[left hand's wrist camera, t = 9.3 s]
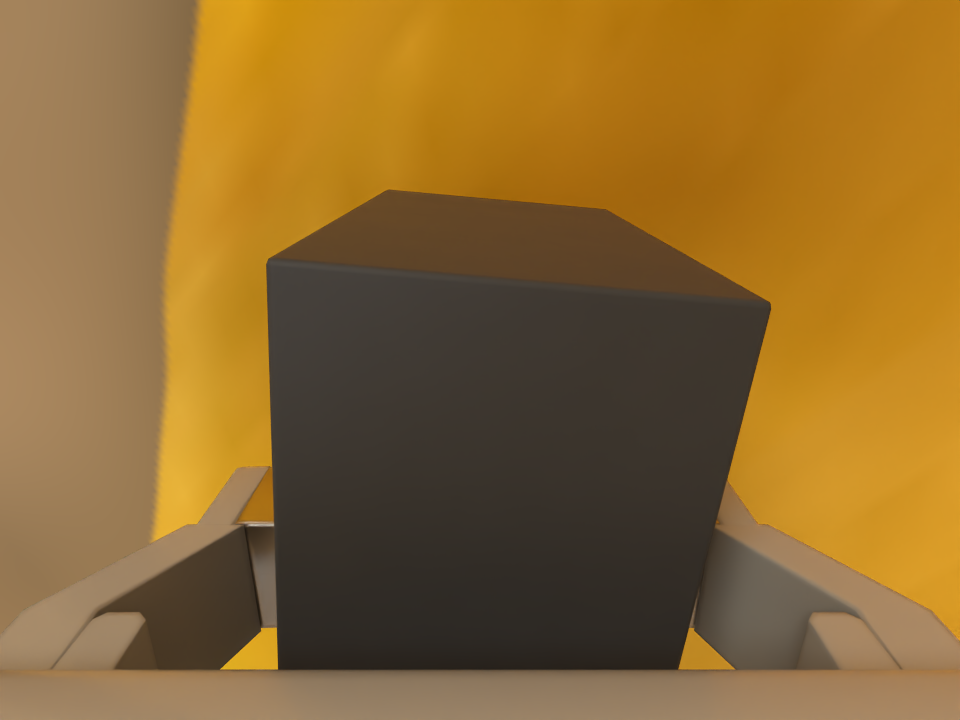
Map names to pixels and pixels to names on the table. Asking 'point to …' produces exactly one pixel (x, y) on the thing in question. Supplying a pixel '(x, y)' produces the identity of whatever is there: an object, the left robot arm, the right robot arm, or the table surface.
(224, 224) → the table surface
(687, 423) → the bar
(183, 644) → the left robot arm
